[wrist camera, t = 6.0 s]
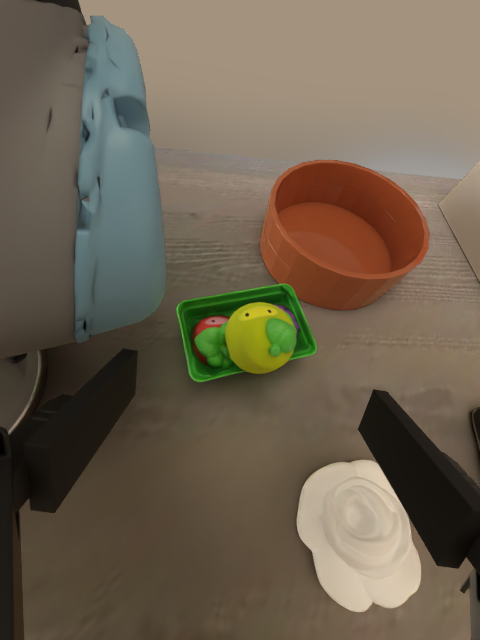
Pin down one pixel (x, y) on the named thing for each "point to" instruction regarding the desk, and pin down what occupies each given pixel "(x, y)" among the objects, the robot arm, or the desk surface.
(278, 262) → the pot
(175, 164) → the desk surface
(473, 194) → the bookstore
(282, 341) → the fruit basket
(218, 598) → the desk surface
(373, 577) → the rose
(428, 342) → the desk surface
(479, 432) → the camera
